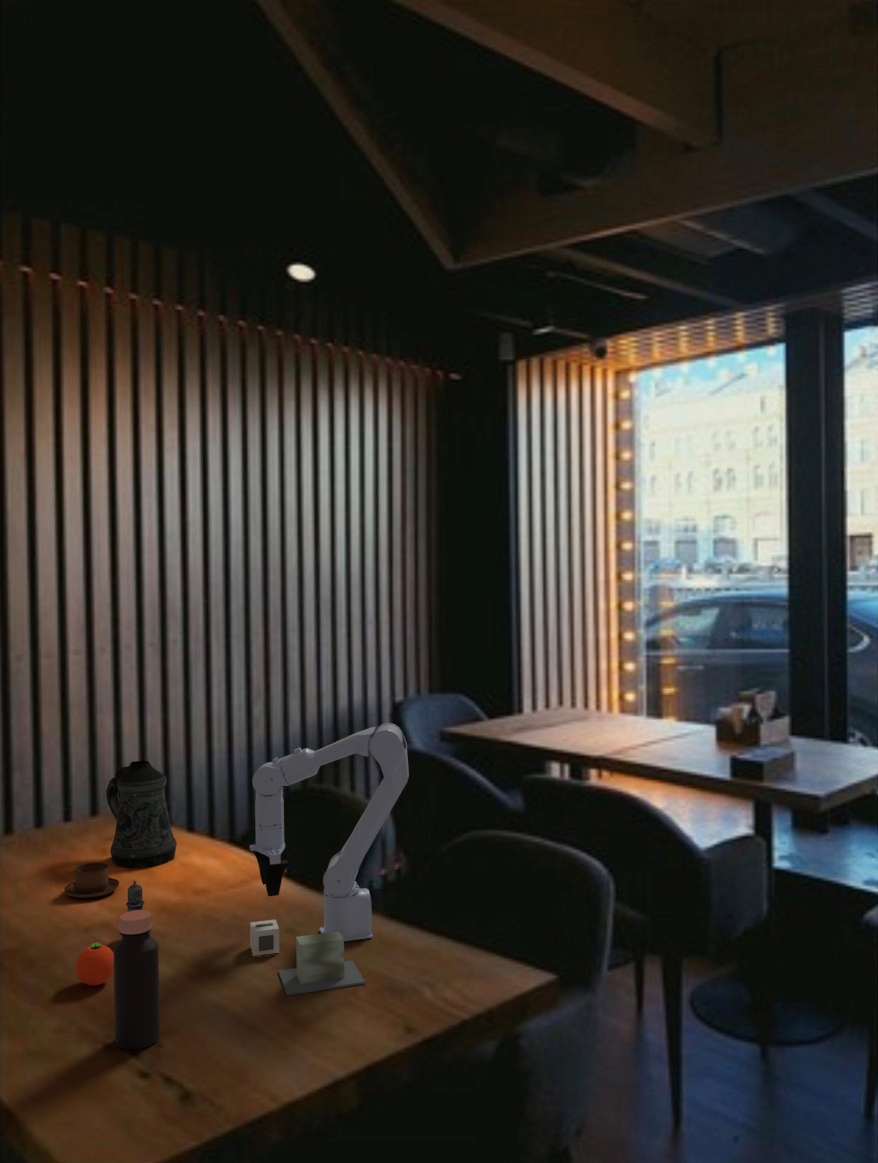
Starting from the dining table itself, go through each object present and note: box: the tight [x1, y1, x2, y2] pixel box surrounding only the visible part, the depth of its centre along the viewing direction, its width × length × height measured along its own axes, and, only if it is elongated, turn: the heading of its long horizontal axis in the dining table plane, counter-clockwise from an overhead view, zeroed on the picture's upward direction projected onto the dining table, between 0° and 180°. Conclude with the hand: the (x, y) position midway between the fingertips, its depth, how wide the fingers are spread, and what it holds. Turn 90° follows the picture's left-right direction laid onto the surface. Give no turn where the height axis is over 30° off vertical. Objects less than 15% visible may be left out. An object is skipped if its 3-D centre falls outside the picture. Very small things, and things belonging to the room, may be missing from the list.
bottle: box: [113, 909, 161, 1051], centre depth 152 cm, size 7×7×20 cm
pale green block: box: [295, 931, 345, 984], centre depth 174 cm, size 8×4×7 cm, turn 108°
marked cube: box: [249, 919, 280, 957], centre depth 187 cm, size 5×5×5 cm
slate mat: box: [278, 960, 366, 996], centre depth 174 cm, size 14×10×1 cm
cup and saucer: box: [63, 862, 120, 899], centre depth 222 cm, size 12×12×6 cm
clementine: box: [74, 942, 114, 987], centre depth 173 cm, size 8×7×7 cm
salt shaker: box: [125, 880, 145, 912], centre depth 193 cm, size 6×6×12 cm
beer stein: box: [105, 760, 178, 869], centre depth 248 cm, size 16×19×25 cm
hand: (270, 889), depth 195 cm, fingers open, 7 cm apart
